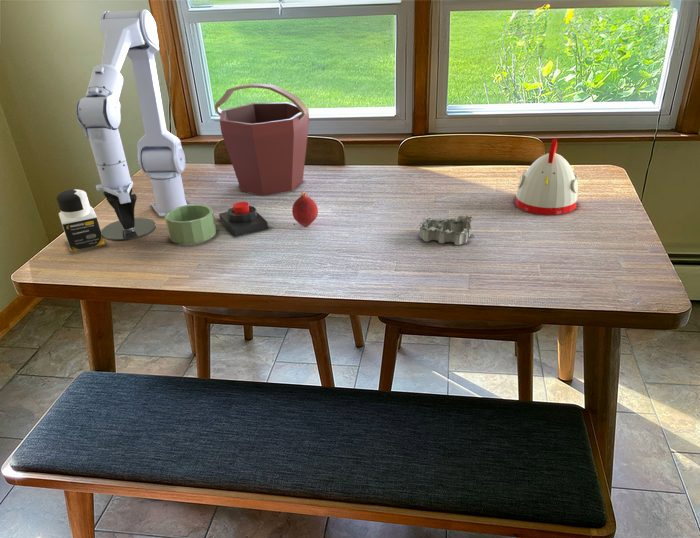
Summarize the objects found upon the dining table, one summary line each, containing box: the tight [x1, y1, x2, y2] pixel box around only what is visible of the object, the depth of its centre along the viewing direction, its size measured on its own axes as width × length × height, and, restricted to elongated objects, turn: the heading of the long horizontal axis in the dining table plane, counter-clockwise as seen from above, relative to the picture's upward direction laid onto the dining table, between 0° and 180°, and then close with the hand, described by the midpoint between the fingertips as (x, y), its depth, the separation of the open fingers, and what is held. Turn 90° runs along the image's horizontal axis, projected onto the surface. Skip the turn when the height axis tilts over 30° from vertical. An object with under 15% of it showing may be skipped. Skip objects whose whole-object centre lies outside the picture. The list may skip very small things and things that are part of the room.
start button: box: [232, 201, 250, 214], centre depth 141 cm, size 4×4×2 cm
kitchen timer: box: [515, 138, 579, 216], centre depth 142 cm, size 14×14×15 cm
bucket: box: [214, 82, 310, 196], centre depth 159 cm, size 24×22×25 cm
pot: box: [164, 203, 217, 245], centre depth 137 cm, size 10×10×6 cm
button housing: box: [218, 205, 269, 237], centre depth 142 cm, size 11×8×4 cm
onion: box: [291, 191, 319, 228], centre depth 139 cm, size 6×6×8 cm
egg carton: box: [418, 215, 473, 246], centre depth 132 cm, size 11×8×4 cm
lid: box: [101, 217, 157, 242], centre depth 129 cm, size 11×11×5 cm
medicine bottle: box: [56, 188, 105, 252], centre depth 134 cm, size 7×7×12 cm
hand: (127, 225), depth 129 cm, fingers closed on lid, 2 cm apart
